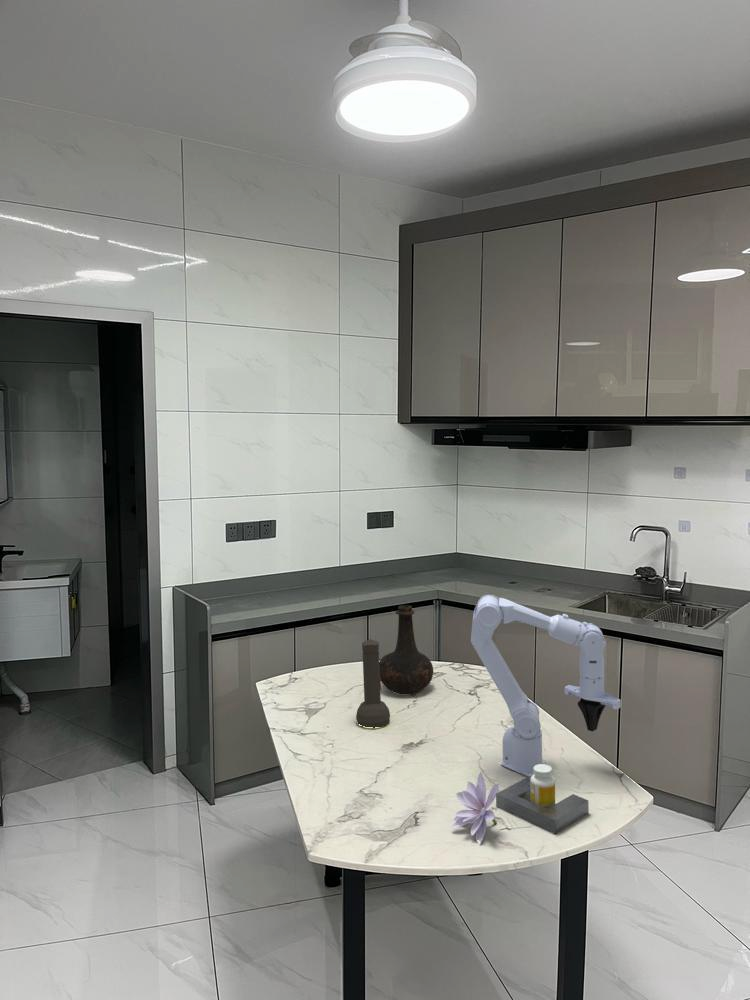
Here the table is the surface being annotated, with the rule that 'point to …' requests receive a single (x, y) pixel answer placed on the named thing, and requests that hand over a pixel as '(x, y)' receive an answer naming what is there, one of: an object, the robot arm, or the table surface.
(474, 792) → the water lily
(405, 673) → the glass bottle
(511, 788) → the grey u-shaped block
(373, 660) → the flashlight
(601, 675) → the robot arm
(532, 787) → the supplement bottle
